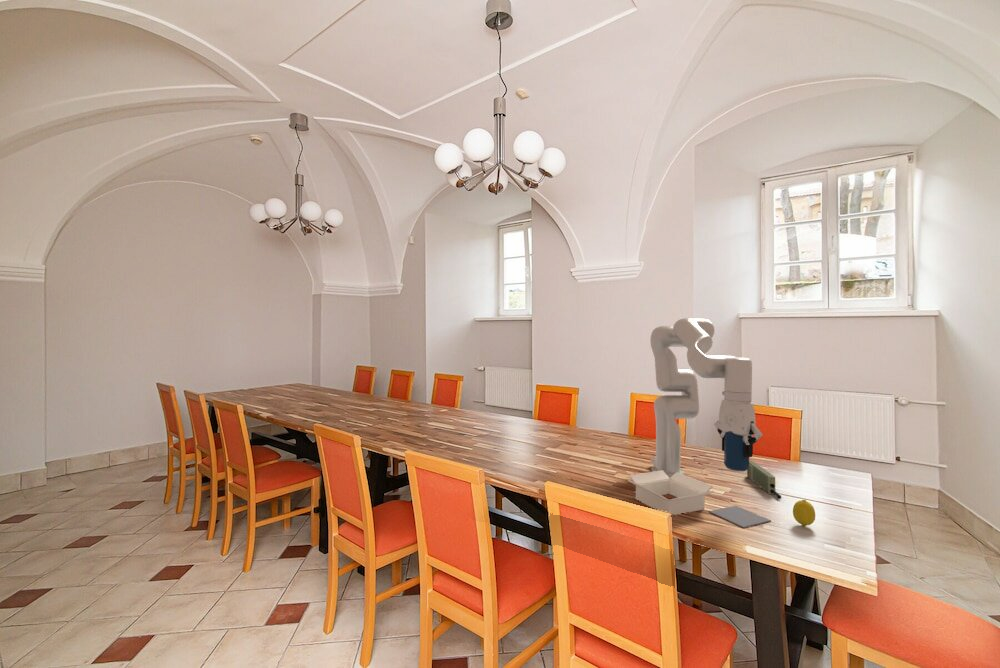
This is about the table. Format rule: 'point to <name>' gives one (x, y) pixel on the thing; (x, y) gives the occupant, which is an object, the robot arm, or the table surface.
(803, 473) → the table surface
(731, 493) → the table surface
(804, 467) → the table surface
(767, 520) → the mat
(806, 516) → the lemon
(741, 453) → the soda can
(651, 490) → the carton
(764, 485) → the handheld radio
